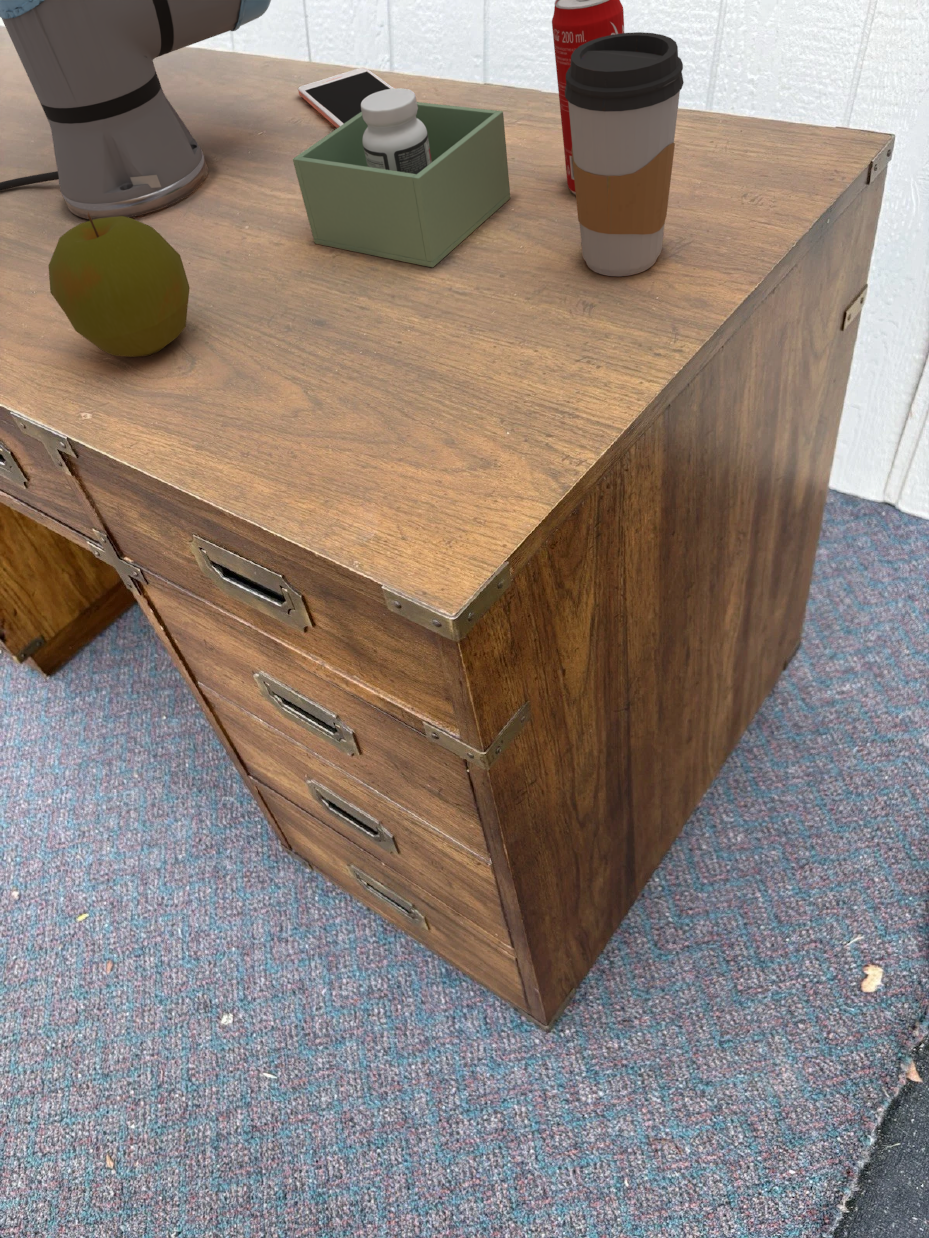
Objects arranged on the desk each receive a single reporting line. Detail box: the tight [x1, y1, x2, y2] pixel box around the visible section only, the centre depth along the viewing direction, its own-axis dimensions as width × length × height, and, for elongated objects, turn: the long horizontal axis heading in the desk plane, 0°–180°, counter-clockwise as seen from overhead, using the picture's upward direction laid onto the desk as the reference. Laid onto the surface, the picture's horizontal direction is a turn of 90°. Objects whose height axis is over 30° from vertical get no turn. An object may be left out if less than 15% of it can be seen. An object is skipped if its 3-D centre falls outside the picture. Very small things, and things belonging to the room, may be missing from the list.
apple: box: [47, 213, 191, 358], centre depth 69 cm, size 10×10×11 cm
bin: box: [292, 101, 511, 268], centre depth 78 cm, size 13×13×8 cm
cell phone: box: [297, 67, 395, 129], centre depth 100 cm, size 9×18×1 cm, turn 25°
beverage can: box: [551, 0, 625, 196], centre depth 75 cm, size 6×6×15 cm
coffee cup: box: [565, 31, 685, 277], centre depth 66 cm, size 8×8×15 cm
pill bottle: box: [361, 87, 432, 175], centre depth 77 cm, size 6×6×10 cm
